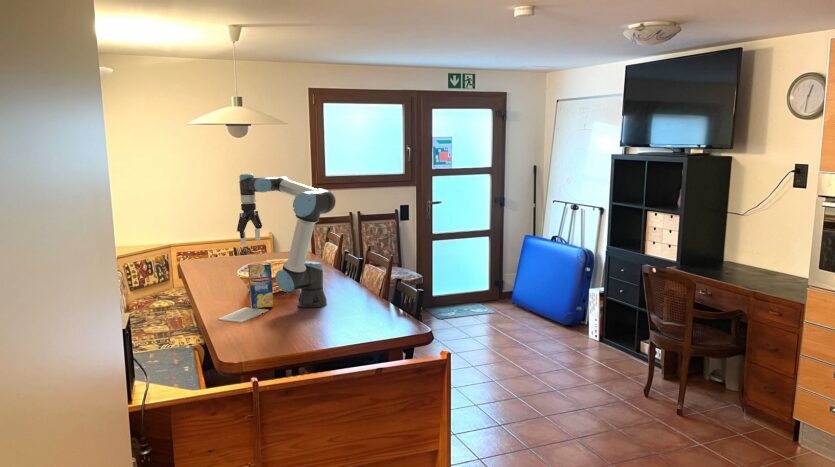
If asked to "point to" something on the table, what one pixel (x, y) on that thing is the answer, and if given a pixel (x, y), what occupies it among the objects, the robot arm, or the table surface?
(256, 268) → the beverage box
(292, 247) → the robot arm
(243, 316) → the board
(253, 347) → the table surface
